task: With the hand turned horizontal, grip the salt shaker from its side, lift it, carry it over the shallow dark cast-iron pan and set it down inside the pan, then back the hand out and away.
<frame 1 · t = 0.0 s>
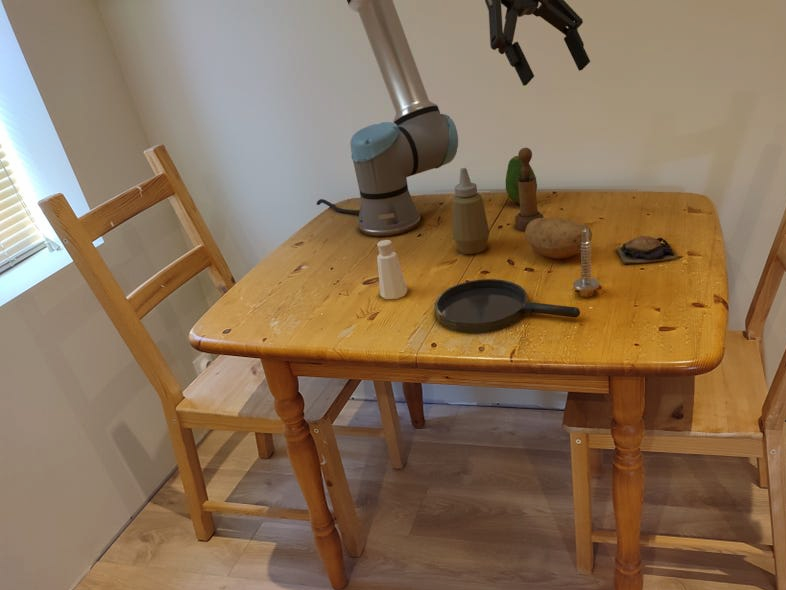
hand: (557, 73, 116), 36 cm above the table, tool tilted 35°, fingers open, 13 cm apart
squeeze bottle: (472, 250, 144), on the table
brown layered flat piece: (645, 255, 133), on the table
mortar and pestle: (529, 226, 153), on the table
salt shaker: (394, 294, 130), on the table
potato: (559, 257, 137), on the table
pan handle: (550, 309, 115), point 1 cm above the table
avocado: (522, 204, 166), on the table
pan: (482, 309, 121), on the table
screw: (586, 294, 122), on the table
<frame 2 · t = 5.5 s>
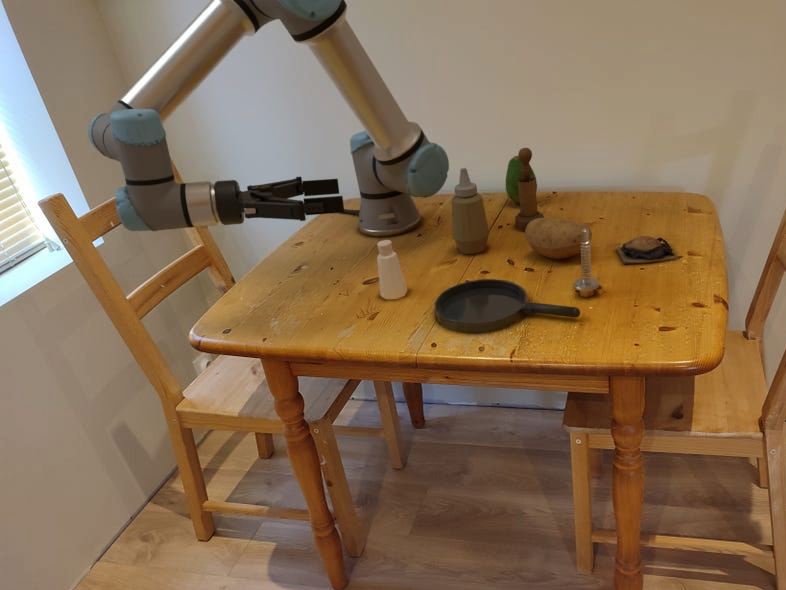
hand: (341, 194, 118), 21 cm above the table, tool horizontal, fingers open, 13 cm apart
nothing on the table moved.
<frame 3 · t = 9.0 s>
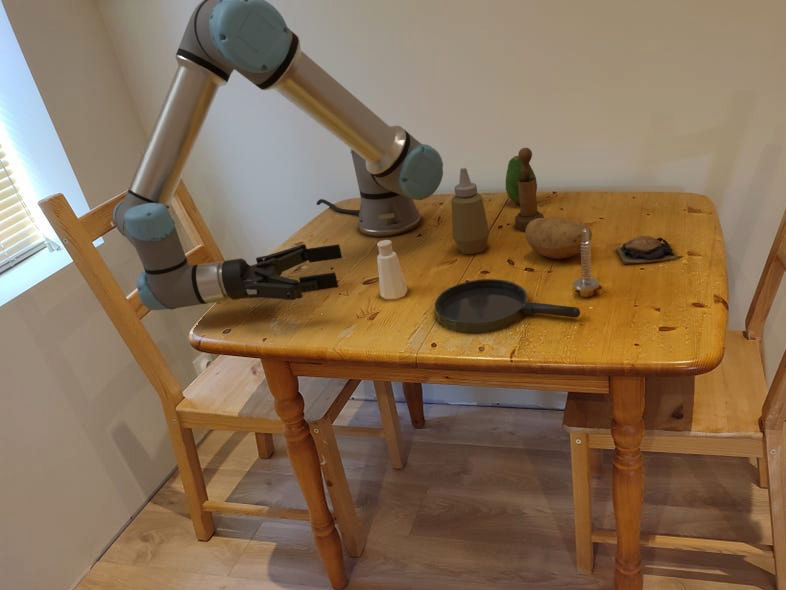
hand: (338, 264, 125), 8 cm above the table, tool horizontal, fingers open, 13 cm apart
nothing on the table moved.
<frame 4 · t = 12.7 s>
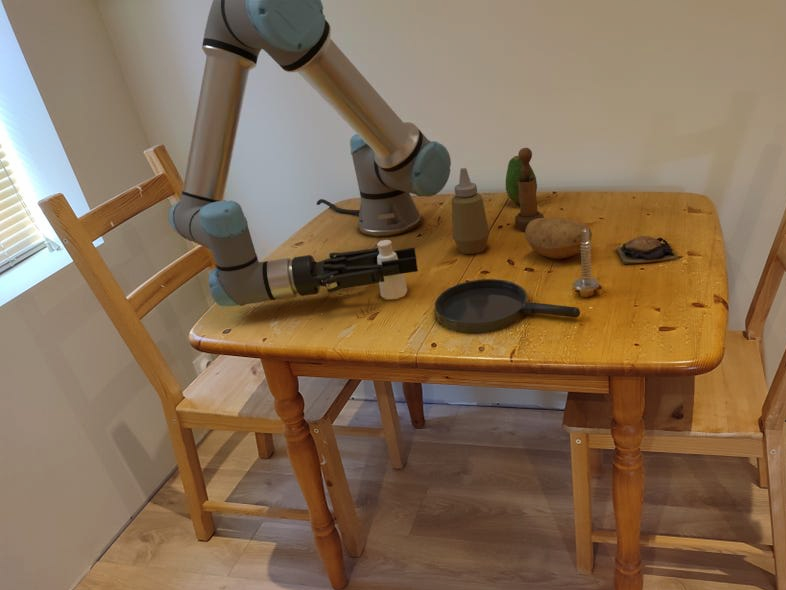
hand: (415, 259, 127), 7 cm above the table, tool horizontal, fingers closed on salt shaker, 4 cm apart
salt shaker: (394, 294, 130), on the table, touching gripper
everything else where it was.
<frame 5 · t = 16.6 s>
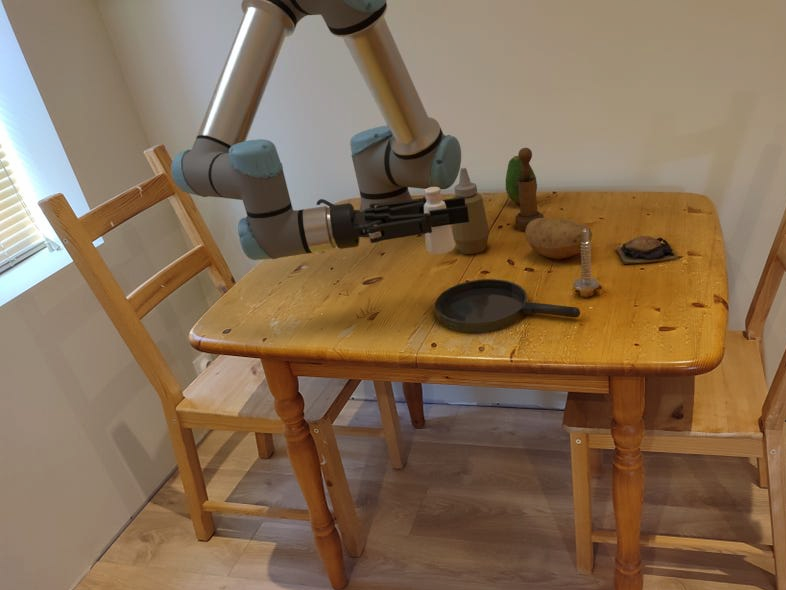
hand: (466, 209, 114), 18 cm above the table, tool horizontal, fingers closed on salt shaker, 4 cm apart
salt shaker: (440, 249, 118), point 11 cm above the table, touching gripper
everything else where it was.
when the fingers open (7 cm above the table, at t = 20.8 s): salt shaker stays where it is, resting on pan.
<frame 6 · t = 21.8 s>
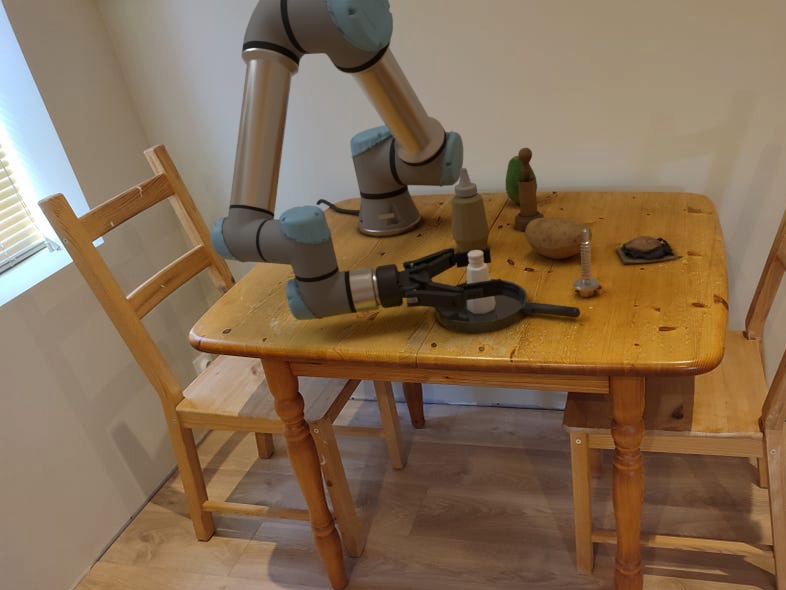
hand: (496, 270, 117), 7 cm above the table, tool horizontal, fingers open, 13 cm apart
salt shaker: (481, 308, 120), resting on pan
everything else where it was.
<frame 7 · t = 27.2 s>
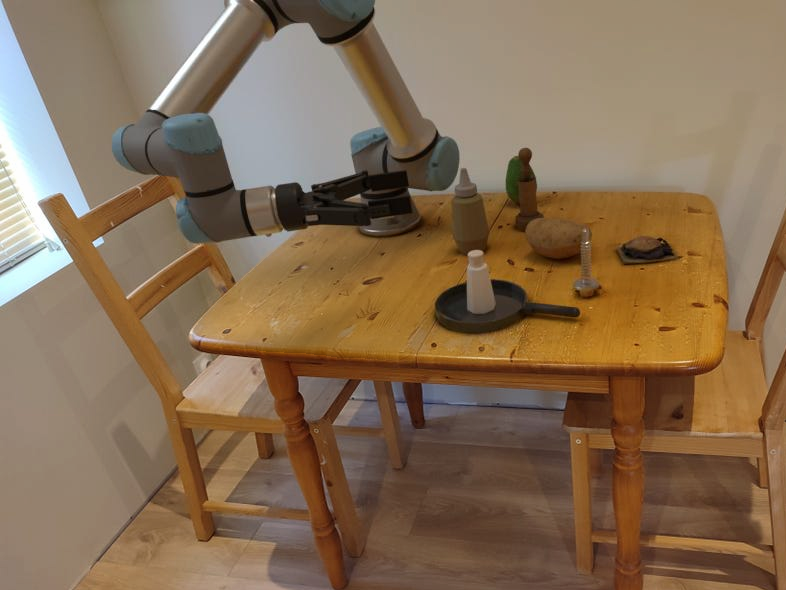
hand: (409, 190, 107), 24 cm above the table, tool horizontal, fingers open, 13 cm apart
nothing on the table moved.
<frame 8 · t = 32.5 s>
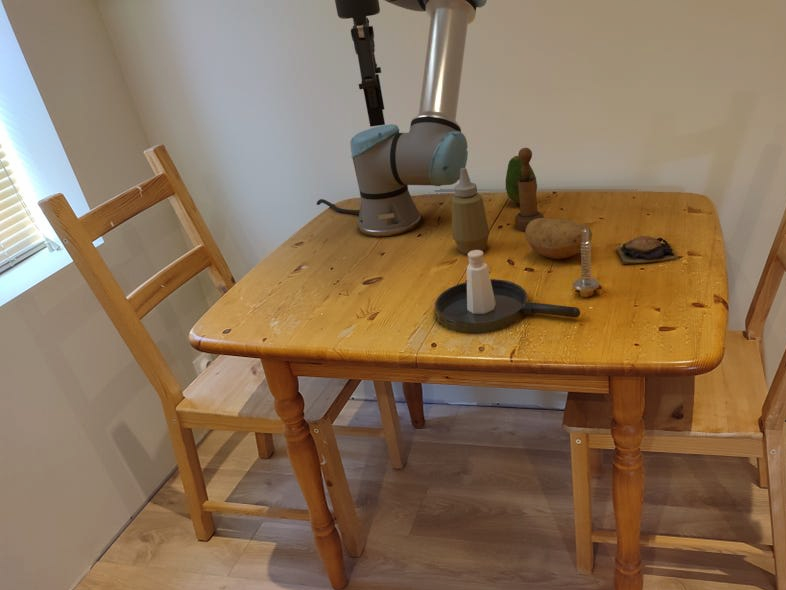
hand: (377, 117, 125), 31 cm above the table, tool pointing down, fingers open, 13 cm apart
nothing on the table moved.
at the end: salt shaker inside the target area on the pan (0.1 cm from its centre), point 0.2 cm above the pan's base; the gripper is holding nothing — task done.
